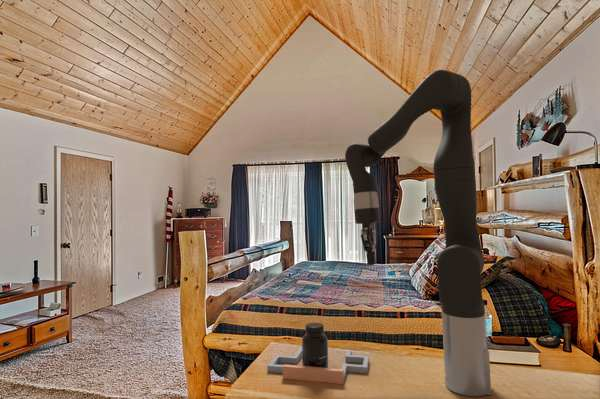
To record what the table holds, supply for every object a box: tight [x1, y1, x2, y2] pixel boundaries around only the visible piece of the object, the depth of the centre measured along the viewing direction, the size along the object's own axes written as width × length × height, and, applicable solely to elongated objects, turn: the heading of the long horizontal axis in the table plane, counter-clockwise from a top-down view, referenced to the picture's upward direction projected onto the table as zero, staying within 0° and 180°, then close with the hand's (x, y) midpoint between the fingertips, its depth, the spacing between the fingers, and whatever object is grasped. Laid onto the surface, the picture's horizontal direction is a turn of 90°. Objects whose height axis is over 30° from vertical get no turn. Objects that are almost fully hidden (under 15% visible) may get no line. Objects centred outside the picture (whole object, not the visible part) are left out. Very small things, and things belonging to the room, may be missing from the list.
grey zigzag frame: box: [267, 345, 370, 385], centre depth 97 cm, size 26×18×3 cm
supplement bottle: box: [301, 322, 329, 368], centre depth 94 cm, size 7×7×12 cm
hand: (371, 264), depth 108 cm, fingers closed
